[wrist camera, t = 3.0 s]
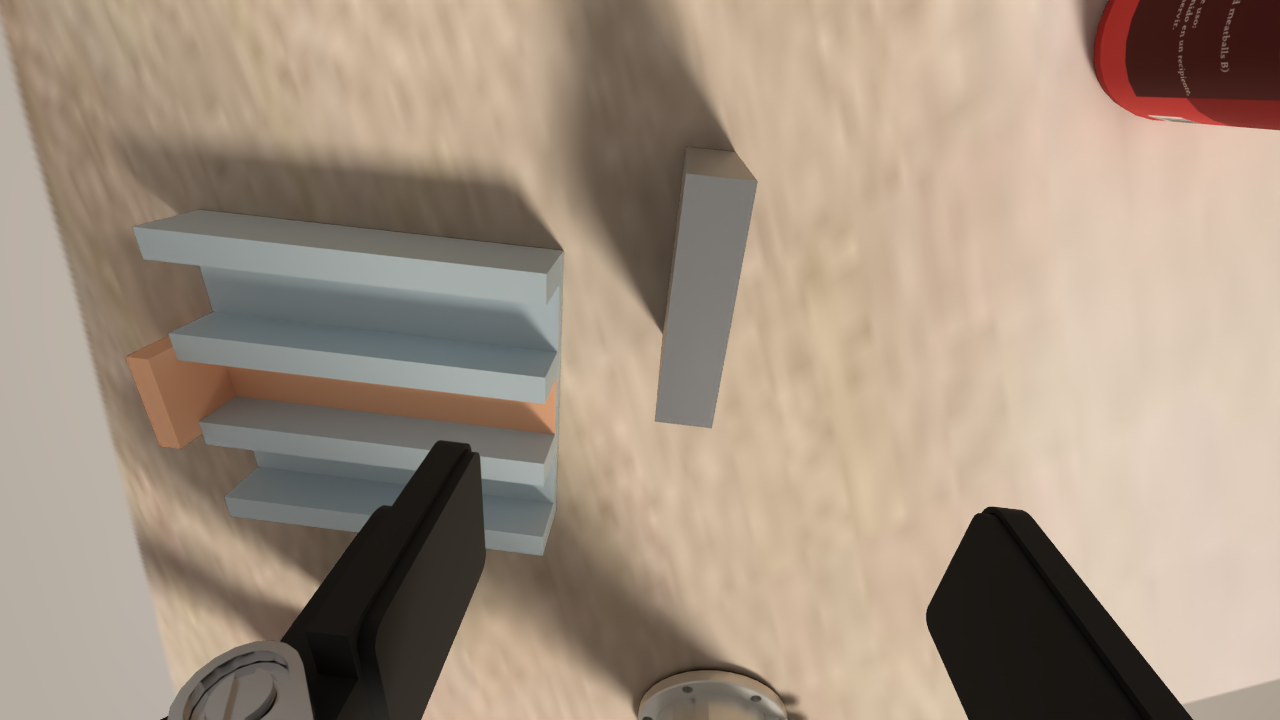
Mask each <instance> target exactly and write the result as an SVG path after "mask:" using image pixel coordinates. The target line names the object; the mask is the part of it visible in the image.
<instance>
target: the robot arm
mask: <svg viewBox="0 0 1280 720" xmlns="http://www.w3.org/2000/svg"><path fill="white" fill-rule="evenodd" d="M485 556H486V549H485V532H484V514H483V497H482V480H481V462H480V455H479V453H478V452H472V450H471V446H470V444H468V443H461V442H452V441H444V440H439V441H437V442H436V443H435V444H434V445H433V447H432V448H431V450H430V451H429V453H428V454H427V456H426V457H425V459H424V460H423V461H422V463H421V464H420V466H419V467H418V469H417V470H416V472H415V473H414V474H413V476H412V477H411V479H410V480H409V482H408V483H407V485H406V486H405V487H404V489H403V490H402V492H401V493H400V495H399V496H398V498H397V499H396V500H395V502H394V503H393V505H392V506H386V505H383V506H381V507H379V508H377V509H376V510H375V512H374V513H373V514H372V515H371V516H370V518H369V519H368V520H367V522H366V523H365V525H364V526H363V527H362V529H361V530H360V532H359V533H358V534H357V536H356V537H355V538H354V540H353V541H352V543H351V544H350V545H349V547H348V548H347V550H346V551H345V552H344V554H343V555H342V556H341V558H340V559H339V561H338V562H337V563H336V565H335V566H334V567H333V569H332V570H331V572H330V573H329V574H328V576H327V577H326V579H325V580H324V581H323V583H322V584H321V585H320V587H319V588H318V590H317V591H316V592H315V594H314V595H313V597H312V598H311V599H310V601H309V602H308V603H307V605H306V606H305V608H304V609H303V610H302V612H301V613H300V615H299V616H298V617H297V619H296V620H295V621H294V623H293V624H292V626H291V627H290V628H289V630H288V631H287V632H286V634H285V635H284V637H283V638H282V639H281V641H280V642H278V641H273V640H270V641H257V642H252V643H249V644H245V645H242V646H239V647H235V648H233V649H231V650H229V651H228V652H226V653H224V654H222V655H220V656H218V657H216V658H214V659H213V660H212V661H210V662H209V663H208V664H206V665H205V666H204V667H202V668H201V669H200V670H198V671H197V672H196V673H195V674H194V675H193V676H192V677H191V678H190V680H189V681H188V682H187V683H186V684H185V685H184V686H183V687H182V688H181V690H180V691H179V693H178V695H177V696H176V698H175V700H174V702H173V703H172V705H171V707H170V711H169V715H168V716H167V717H165V718H163V719H161V720H421V719H422V716H423V714H424V711H425V709H426V706H427V704H428V702H429V699H430V697H431V694H432V692H433V690H434V687H435V685H436V682H437V680H438V677H439V675H440V673H441V670H442V668H443V665H444V663H445V661H446V658H447V656H448V653H449V651H450V648H451V646H452V644H453V641H454V639H455V636H456V634H457V631H458V629H459V627H460V624H461V622H462V619H463V617H464V615H465V612H466V610H467V607H468V605H469V602H470V600H471V598H472V595H473V593H474V590H475V588H476V586H477V583H478V581H479V578H480V576H481V573H482V571H483V567H484V563H485ZM926 621H927V626H928V629H929V632H930V634H931V636H932V638H933V641H934V643H935V645H936V647H937V650H938V652H939V654H940V656H941V659H942V661H943V663H944V665H945V668H946V670H947V672H948V674H949V677H950V679H951V681H952V683H953V686H954V688H955V690H956V692H957V695H958V697H959V699H960V701H961V704H962V706H963V708H964V710H965V713H966V715H967V717H968V719H969V720H1193V719H1192V718H1191V716H1190V715H1189V714H1188V713H1187V712H1186V710H1185V709H1184V708H1183V706H1182V705H1181V704H1180V703H1179V701H1178V700H1177V699H1176V698H1175V696H1174V695H1173V694H1172V693H1171V691H1170V690H1169V689H1168V687H1167V686H1166V685H1165V684H1164V682H1163V681H1162V680H1161V679H1160V677H1159V676H1158V675H1157V674H1156V672H1155V671H1154V670H1153V669H1152V667H1151V666H1150V665H1149V664H1148V662H1147V661H1146V660H1145V659H1144V657H1143V656H1142V655H1141V654H1140V652H1139V651H1138V650H1137V649H1136V647H1135V646H1134V645H1133V644H1132V642H1131V641H1130V640H1129V639H1128V637H1127V636H1126V635H1125V633H1124V632H1123V631H1122V630H1121V628H1120V627H1119V626H1118V625H1117V623H1116V622H1115V621H1114V620H1113V618H1112V617H1111V616H1110V615H1109V613H1108V612H1107V611H1106V610H1105V608H1104V607H1103V606H1102V605H1101V603H1100V602H1099V601H1098V600H1097V598H1096V597H1095V596H1094V595H1093V593H1092V592H1091V591H1090V590H1089V588H1088V587H1087V586H1086V585H1085V583H1084V582H1083V581H1082V579H1081V578H1080V577H1079V576H1078V574H1077V573H1076V572H1075V571H1074V569H1073V568H1072V567H1071V566H1070V564H1069V563H1068V562H1067V561H1066V559H1065V558H1064V557H1063V556H1062V554H1061V553H1060V552H1059V551H1058V549H1057V548H1056V547H1055V546H1054V544H1053V543H1052V542H1051V541H1050V539H1049V538H1048V537H1047V536H1046V534H1045V533H1044V532H1043V531H1042V529H1041V528H1040V527H1039V525H1038V524H1037V523H1036V522H1035V520H1034V519H1033V518H1032V517H1031V516H1030V515H1029V514H1028V513H1027V512H1025V511H1023V510H1017V509H1008V508H1000V507H987V508H986V509H984V511H983V512H982V513H978V514H976V515H975V516H974V517H973V519H972V521H971V523H970V525H969V527H968V529H967V531H966V533H965V535H964V537H963V539H962V541H961V543H960V545H959V547H958V548H957V550H956V552H955V554H954V556H953V558H952V560H951V562H950V564H949V566H948V568H947V570H946V572H945V574H944V576H943V578H942V580H941V582H940V584H939V586H938V588H937V590H936V592H935V594H934V596H933V598H932V600H931V602H930V604H929V606H928V608H927V612H926ZM638 720H788V717H787V711H786V709H785V706H784V704H783V702H782V701H781V699H780V698H779V697H778V695H777V694H775V693H774V692H773V691H772V690H771V689H770V688H768V687H767V686H765V685H763V684H762V683H760V682H758V681H756V680H754V679H751V678H749V677H747V676H744V675H740V674H736V673H732V672H725V671H717V670H699V671H690V672H685V673H681V674H677V675H673V676H671V677H669V678H666V679H664V680H662V681H660V682H659V683H657V684H656V685H654V686H653V687H652V688H650V689H649V690H648V691H647V692H646V693H645V695H644V697H643V698H642V700H641V702H640V706H639V715H638Z"/></svg>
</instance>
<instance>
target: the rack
mask: <svg viewBox="0 0 1280 720" xmlns="http://www.w3.org/2000/svg"><path fill="white" fill-rule="evenodd" d="M132 228H133V231H134V234H135V237H136V239H137V242H138V245H139V248H140V251H141V254H142V257H143V259H145V260H154V261H162V262H171V263H180V264H188V265H197V266H200V270H201V273H202V277H203V280H204V283H205V287H206V290H207V294H208V297H209V301H210V304H211V307H212V311H213V312H211V313H209V314H207V315H205V316H203V317H201V318H199V319H197V320H195V321H193V322H191V323H189V324H186V325H184V326H182V327H180V328H178V329H176V330H174V331H172V332H170V333H168V334H169V336H167V337H165V338H163V339H161V340H159V341H157V342H155V343H153V344H150V345H148V346H146V347H144V348H142V349H140V350H138V351H136V352H134V353H132V354H130V355H128V356H126V357H125V358H126V361H127V363H128V366H129V368H130V371H131V373H132V376H133V379H134V381H135V384H136V386H137V389H138V391H139V394H140V397H141V399H142V402H143V404H144V407H145V409H146V412H147V415H148V417H149V420H150V422H151V425H152V427H153V430H154V433H155V435H156V438H157V440H158V443H159V445H160V446H161V447H169V448H177V449H181V448H183V447H184V446H186V445H187V444H188V443H190V442H191V441H193V440H194V439H195V438H197V437H198V436H199V435H201V434H203V437H204V440H205V443H206V445H213V446H221V447H230V448H238V449H246V450H253V451H254V455H255V458H256V461H257V465H258V467H257V468H256V469H255V470H254V471H253V472H251V473H250V474H249V475H248V476H247V477H246V478H245V479H244V480H242V481H241V482H240V483H239V484H238V485H237V486H236V487H235V488H234V489H232V490H231V491H230V492H229V493H228V494H227V495H226V496H225V497H224V499H225V501H226V504H227V507H228V510H229V513H230V516H231V517H239V518H247V519H255V520H263V521H271V522H279V523H287V524H295V525H302V526H310V527H318V528H326V529H334V530H342V531H350V532H358V533H359V532H360V530H361V529H362V527H363V526H364V525H365V523H366V522H367V520H368V519H369V518H370V516H371V515H372V514H373V513H374V512H375V510H376V509H377V508H379V507H381V506H383V505H386V506H392V505H393V503H394V502H395V500H396V499H397V498H398V496H399V495H400V493H401V492H402V490H403V489H404V487H405V486H406V485H407V483H408V482H409V480H410V479H411V477H412V476H413V474H414V473H415V472H416V470H417V469H418V467H419V466H420V464H421V463H422V461H423V460H424V459H425V457H426V456H427V454H428V453H429V451H430V450H431V448H432V447H433V445H434V444H435V443H436V442H437V441H439V440H444V441H452V442H461V443H468V444H470V446H471V450H472V452H478V453H479V455H480V462H481V480H482V497H483V514H484V532H485V549H492V550H500V551H508V552H516V553H524V554H532V555H540V556H543V553H544V550H545V547H546V543H547V540H548V537H549V533H550V530H551V527H552V523H553V520H554V517H555V514H556V503H557V468H558V433H559V398H560V363H561V327H562V292H563V257H564V251H562V250H553V249H544V248H536V247H527V246H518V245H509V244H500V243H491V242H482V241H473V240H465V239H456V238H447V237H438V236H429V235H420V234H411V233H402V232H394V231H385V230H376V229H367V228H358V227H349V226H340V225H331V224H323V223H314V222H305V221H296V220H287V219H278V218H269V217H260V216H252V215H243V214H234V213H225V212H216V211H207V210H196V211H192V212H188V213H184V214H180V215H176V216H172V217H168V218H165V219H161V220H157V221H153V222H149V223H145V224H141V225H137V226H133V227H132Z"/></svg>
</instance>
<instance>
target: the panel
mask: <svg viewBox="0 0 1280 720" xmlns="http://www.w3.org/2000/svg"><path fill="white" fill-rule="evenodd" d="M757 182H758V181H757V180H756V179H755V177H754V176H753V175H752V173H751V172H750V171H749V169H748V168H747V167H746V165H745V164H744V163H743V161H742V160H741V159H740V157H739V156H738V155H737V153H736V152H732V151H722V150H713V149H704V148H694V147H686V150H685V158H684V167H683V175H682V183H681V191H680V199H679V207H678V215H677V223H676V231H675V239H674V247H673V256H672V264H671V272H670V280H669V288H668V296H667V304H666V312H665V320H664V328H663V337H662V348H661V359H660V370H659V381H658V392H657V403H656V414H655V421H656V422H664V423H672V424H681V425H689V426H697V427H706V428H712V424H713V419H714V413H715V408H716V402H717V397H718V392H719V386H720V381H721V375H722V370H723V365H724V359H725V354H726V349H727V343H728V338H729V332H730V327H731V322H732V316H733V311H734V306H735V300H736V295H737V289H738V284H739V279H740V273H741V268H742V262H743V257H744V252H745V246H746V241H747V236H748V230H749V225H750V219H751V214H752V209H753V203H754V198H755V193H756V187H757Z"/></svg>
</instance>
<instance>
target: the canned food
mask: <svg viewBox="0 0 1280 720" xmlns="http://www.w3.org/2000/svg"><path fill="white" fill-rule="evenodd" d="M1094 65H1095V69H1096V74H1097V78H1098V80H1099V82H1100V84H1101V86H1102V88H1103V90H1104V92H1105V93H1106V94H1107V95H1108V96H1109V97H1110V98H1111V99H1112V100H1113V101H1114V102H1115V103H1117V104H1118V105H1120V106H1121V107H1123V108H1124V109H1126V110H1128V111H1129V112H1131V113H1133V114H1134V115H1137V116H1140V117H1144V118H1147V119H1151V120H1160V121H1172V122H1185V123H1197V124H1210V125H1222V126H1235V127H1247V128H1259V129H1272V130H1280V0H1109V1H1108V3H1107V5H1106V7H1105V10H1104V12H1103V15H1102V17H1101V20H1100V22H1099V25H1098V29H1097V34H1096V39H1095V43H1094Z"/></svg>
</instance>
